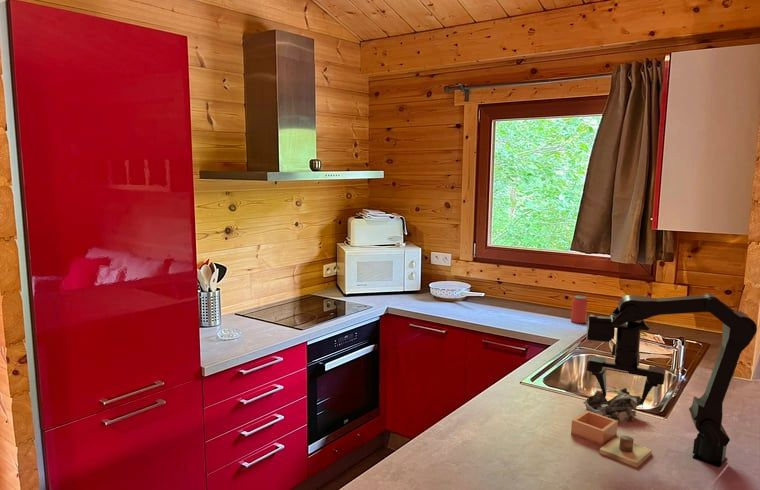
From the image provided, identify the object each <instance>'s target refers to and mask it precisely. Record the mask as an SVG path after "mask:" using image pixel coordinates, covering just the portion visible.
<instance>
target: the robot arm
mask: <svg viewBox="0 0 760 490" xmlns="http://www.w3.org/2000/svg"><path fill="white" fill-rule="evenodd" d="M696 313H698V314H699V313H710V314H711V315H712V316H713V317H715V318H717V319H718V320H719V321H720V322H722V323H723V324H722V328H721V329H722V330H721V345H720V346H721V347H720V349H719V351H718V355H717V356H716V357H717V358H716V361H715V363H714V366H713V369H712V371H711V374H710V377H709V380H708V382H707V385H706V388H705V391H704V393H703V395H702V396H701V397H696V396H693V397H692V398H693V400H692V403H691V406H690V407H689V408H688V411H689V412H690V413H689V414H690V418H691V420H692V423H693V425H694V427H695V429H696V430H697V432H698V433H697V435H696V437H695V438H694V439H693V440H694V441H693V449H692V454H693V455H692V459H693V460H697V461H699V462H702V463H706V464H707V465H711V466H713V467H716V468H721V467H722V466H723V465H724V463H725V462H727V460H728V458H727V456H726V453H727V446H728V444H729V442H730V441H731V439H730V437H729V435H728V433H727V431H726V430H725V428H724V426H723V404H724V400H725V397H726V395H727V393H728V389H729V386H730V385H731V381H732V378H733V376H734V373H735V370H736V368H737V365H738V363H739V359H740V358H741V354H742V352H743V351H744V350H745V349H746V348H747V347H748V346H749V345H750V344H751V343H752V341H753V339H754V338H755V336H756V334H757V332H758V325H757V324H756V322H755V320H753V319H752V318H751V317H750V316H749V315H748V314H746V313H745V312H744V311H741V310H734V309H732V308H731V307H730V306H728V305H727V304H726V303H724V302H723V301H722V300H720V299H719V298H718V296H716V295H714V294H712V293H705V294H700V295H699V294H697V295H682V296H671V297H657V298H656V297H649V296H644V295H643V296H642V295H634V294H632V295H631V294H626V295H623V296H622V297H621V298H620V299H619V301H618V303H617V307H616V308H615V309H614V310H613V311H612V312H610V314H609V316H601V315H599V316H598V315H596V314H589V315H588V320H587V324H586V341H592V342H599V343H600V342H601V343H610V342H612V340H614V339H615V331H616V339H615V343H614V344H612V349H611V350H612V351H611V356H613V357H614V363H613V362H608V361H607V359H606V357H601V356H596V355H591V357H590V358H589V359H588V361H587V364H586V371H587V372H591V376H592V375H593V376H594V377H595V378H596V380H597V382H598V384H599V387H600V391H602V393H603V396H604V397H605V398H606V397H607V393H608V392H607V389H608V388H607V371H613V372H619V373H624V374H629V375H635V376H640V377H646V379H645V382H644V387H643V391H642V395H641V405H640V406H642V405H643V406H644V403H645V400H646V399H647V396H648V395H649V393H650V391H651V390H652V389H653V388H654V387H656V388H657V387H659V385H664V384H665V380H666V373H667V372H666V369H665V368H664V367H661V366H657V365H656V366H655V365H648V369H646V368H642V367H639V366H640V360H641V356H640V354H641V353H640V342H641V331H649V330H650V327H649V324H647V323H646V322H645V320H648V319H650V318H653V317H656V316H662V315H663V316H664V315H665V316H666V315H680V314H681V315H683V314H696ZM615 328H616V330H615Z"/></svg>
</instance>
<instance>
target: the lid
mask: <svg viewBox="0 0 760 490" xmlns="http://www.w3.org/2000/svg"><path fill="white" fill-rule="evenodd" d="M599 452H600V453H601V454H600V455H602V454H603V455H602V456H604V455H606V456H605V457H607V456H608V458H609V457H611V458H610V459H612V458H613V460H614V459H616V460H615V461H617V460H619V461H618V462H620V461H621V462H620V463H622V462H624V463H623V464H625V463H626V464H625V465H627V464H629V465H628V466H630V465H631V466H630V467H632V466H634V467H633V468H635V467H636V468H635V469H638V468H639V467H640V466H641V465H642V464H641V463H642V462H643V461H644V460H646V459H647V458H648V457H649V456H650V455H651V454H652V455H653V453H652V452H653V450H652V449H650V448H647V447H644V446H642V445H640V444H637V443H634V438H633V437H631V436H629V435H621V436H620V437H617V436H615V437H613V438H612V439H611V440H609V441H608V442H607V443H605V444H604V445H603V446H601V447H600V448H599ZM652 455H651V456H652ZM651 456H650V457H651ZM650 457H649V458H650ZM649 458H648V459H649ZM648 459H647V460H648ZM647 460H646V461H647ZM640 464H641V465H640ZM639 465H640V466H639ZM638 466H639V467H638ZM637 467H638V468H637Z"/></svg>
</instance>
